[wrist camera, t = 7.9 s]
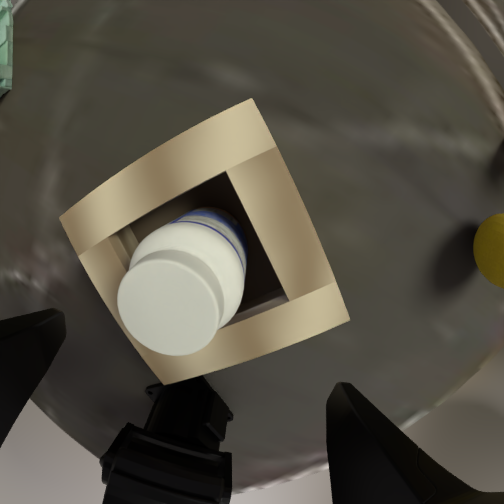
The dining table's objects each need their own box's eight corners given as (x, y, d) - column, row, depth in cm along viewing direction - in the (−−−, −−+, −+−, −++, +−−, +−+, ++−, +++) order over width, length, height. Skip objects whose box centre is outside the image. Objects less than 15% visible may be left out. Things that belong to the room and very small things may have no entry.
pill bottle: (197, 295, 20) (156, 387, 11) (155, 230, 19) (76, 285, 10) (264, 259, 19) (268, 342, 10) (222, 189, 18) (183, 210, 9)
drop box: (184, 335, 22) (164, 385, 16) (108, 202, 19) (59, 217, 13) (328, 278, 20) (350, 319, 14) (255, 119, 17) (251, 98, 11)
